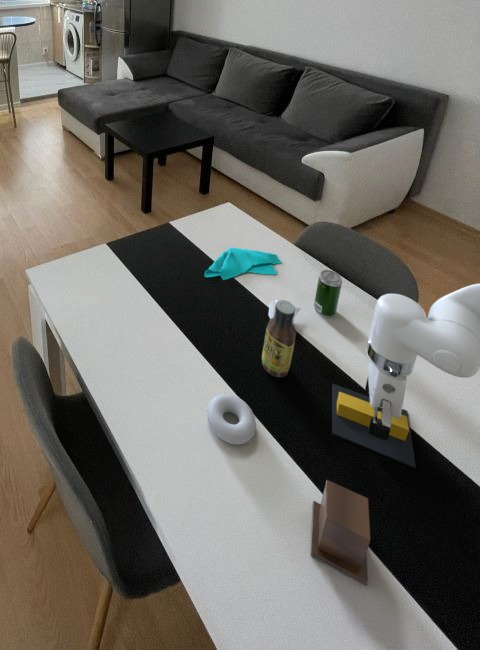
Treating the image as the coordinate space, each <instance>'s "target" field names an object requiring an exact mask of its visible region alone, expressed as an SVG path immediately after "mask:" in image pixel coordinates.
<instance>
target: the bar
mask: <svg viewBox="0 0 480 650" xmlns="http://www.w3.org/2000/svg"><path fill="white" fill-rule="evenodd" d="M379 407H380V406H379ZM380 408H382V407H380ZM373 411H374V410H373V408H372V407H371V405H370V403H369V402H366V401H364V400H361V399H358V398H355V397H353V396H350V395H347V394H344V393H342V392H339V395H338V399H337V415H339V416H342V417H344V418H347V419H350V420H352V421H355V422H357V423H360V424H362V425H365V426H367V427H369V424H370V420H371V418H373ZM381 417H382V412H379V411H378V414H377V418H379V419H381ZM408 431H409V427H408V420H407V416H404V415H402V414H401V416H400V418H395V417H393V416H391V430H390V433H389V435H391V436H393V437H396V438H398V439H401V440H403V441H405V440H406V437H407V434H408Z"/></svg>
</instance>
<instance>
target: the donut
mask: <svg viewBox="0 0 480 650" xmlns="http://www.w3.org/2000/svg"><path fill="white" fill-rule="evenodd" d="M253 412H254V411H253V410H252V409H251V407H250V406H249V404H247V402H245V401H244V400H243V399H241V398H240V397H239V396H236V395H234V394H229V393H222V394H218V395H216V396H214V397H213V398H211V400H210V401H209V403H208V406H207V408H206V418H207V422H208V425H209V427H210V429H211V430H212V431H213V432H214V434H215V435H216V436H217V437H218V438H219V439H221V440H222V441H224V442H226V443H228V444H229V445H230V444H232V445H238V446H239V445H244V444H246V443H248V442H249V441H251V440H252V439H253V437H254V435H255V433H256V428H257V423H256V417H255V415H254V414H255V413H253ZM225 413H232V414H233V415H235V416H236V417H237V419H238V423H236V424H233V423H229V422H228V421H226V420H225V419H224V414H225Z"/></svg>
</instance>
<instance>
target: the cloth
mask: <svg viewBox="0 0 480 650" xmlns="http://www.w3.org/2000/svg"><path fill="white" fill-rule="evenodd" d="M278 264H283V262H282V260H281V259H280V258H279V257H278V255H277V254H276V253H271V252H266V251H262V250H261V251H260V250H253V249H248V248H244V249H243V248H239V247H229V248H228V249H226V250H225V251H224V252H223V253H221V254H220V255H219V256H218V257H217V259H216V260H214V262H213V263H212V264H211V265H210V266H209V267H208V269H206V270H205V271H204V278H216V277H220V278H221V279H222V281H226V280H229V279H232V278H235V277H237V276H239V275H242V274H245V273H253V274H257V275H268V276H269V275H272V276H273V275H274V276H275V275H277V274H278V272H277V271H276V269H275V267H274V265H278Z"/></svg>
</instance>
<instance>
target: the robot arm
mask: <svg viewBox="0 0 480 650" xmlns="http://www.w3.org/2000/svg"><path fill="white" fill-rule="evenodd" d="M371 321H372V322H371V326H370V331H369V335H368V341H367V344H366V349H365V353H366V356H367V358H368V366H367V379H366V384H365V387H364V388H365V389H364V390H365V392H366V393H368V395H369V396H368V397H370V405H371V407H372V408H373V410H374V411H373V418H371V420H370V424H369V428H368V433H369V434H370V435H373V436H376V437H377V438H380V439H383V440H388V436H389V433H390V430H391V416H393V417H395V418H400V416H401V411H402V409H403V406H404V401H405V394H406V390H407V389H406V388H407V377H408V376H410V375H411V374H412V373H413V371H414V368H415V364H416V360H417V357H420V358H422V359H423V360H425V361H426V362H428V363H429V364H431V365H432V366H434V367H435V368H437V369H438V370H441V371H442V372H444V373H446V374H448V375H451V376H453V377H457V378H463V379H465V378H467V379H468V378H471V377H474V376H475V375H476V374H477V373H478V372H479V370H480V283H474V284H470V285H467V286H464V287H461V288H459V289H457V290H455V291H452V292H450V293H447V294H445V295H444V296H441V297H440V298H438V299H437V300H436V301H434V302H433V304H432V305H431V306H430V308H429V311H428V315H427V314H426V311H425V310H424V309H423V307H422V306H421V305H420V304H419V303H418V302H416V301H415V300H414V299H411V298H410V297H408V296H406V295H403V294H400V293H385V294H382V295H381V296H380V297H379V298H378V299H377V301H376V304H375V308H374V313H373V317H372V320H371ZM380 404H382V408H380V407H379V406H380ZM378 411H379V412H382V417H381V419H379V418H377V414H378Z"/></svg>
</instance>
